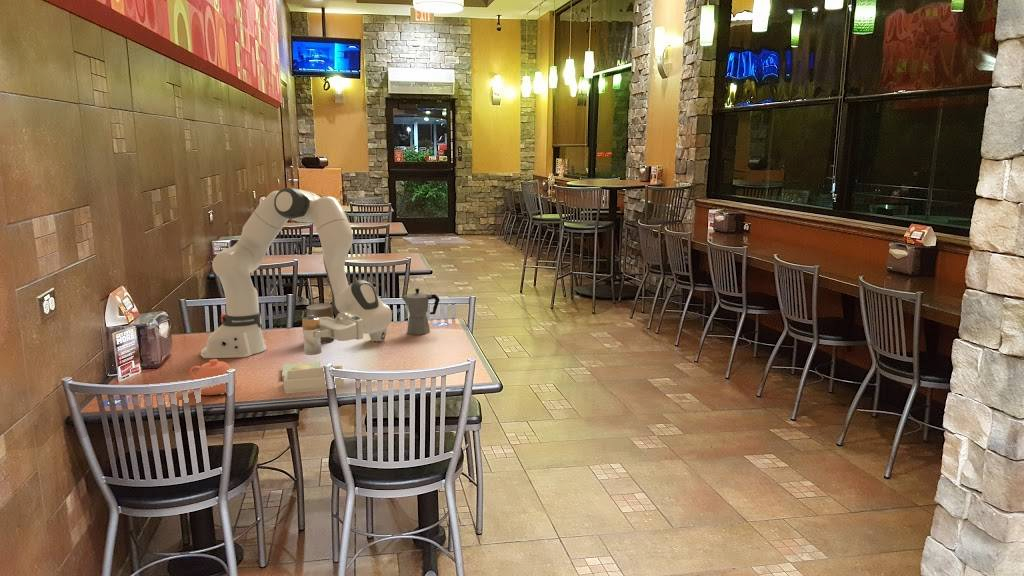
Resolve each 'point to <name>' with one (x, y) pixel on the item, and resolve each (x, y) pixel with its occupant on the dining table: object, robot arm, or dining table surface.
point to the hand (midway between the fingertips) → (309, 333)
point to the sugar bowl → (212, 370)
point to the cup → (378, 335)
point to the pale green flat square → (299, 366)
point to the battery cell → (311, 335)
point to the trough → (308, 380)
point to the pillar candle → (321, 315)
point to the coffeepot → (419, 311)
